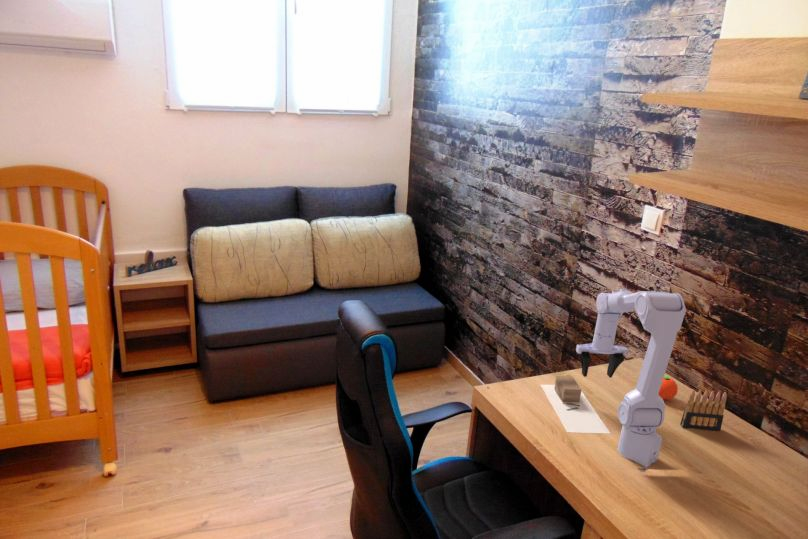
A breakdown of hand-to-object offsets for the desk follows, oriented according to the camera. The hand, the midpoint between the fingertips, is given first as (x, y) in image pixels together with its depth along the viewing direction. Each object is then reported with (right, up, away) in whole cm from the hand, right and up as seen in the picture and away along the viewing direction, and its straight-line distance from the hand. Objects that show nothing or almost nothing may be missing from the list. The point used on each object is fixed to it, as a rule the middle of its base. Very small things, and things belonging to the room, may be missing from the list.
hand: (596, 375), depth 177 cm
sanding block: (-8, -7, +4) cm, 11 cm away
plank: (-8, -10, -2) cm, 13 cm away
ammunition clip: (+28, -14, -5) cm, 32 cm away
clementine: (+24, -9, +10) cm, 27 cm away
